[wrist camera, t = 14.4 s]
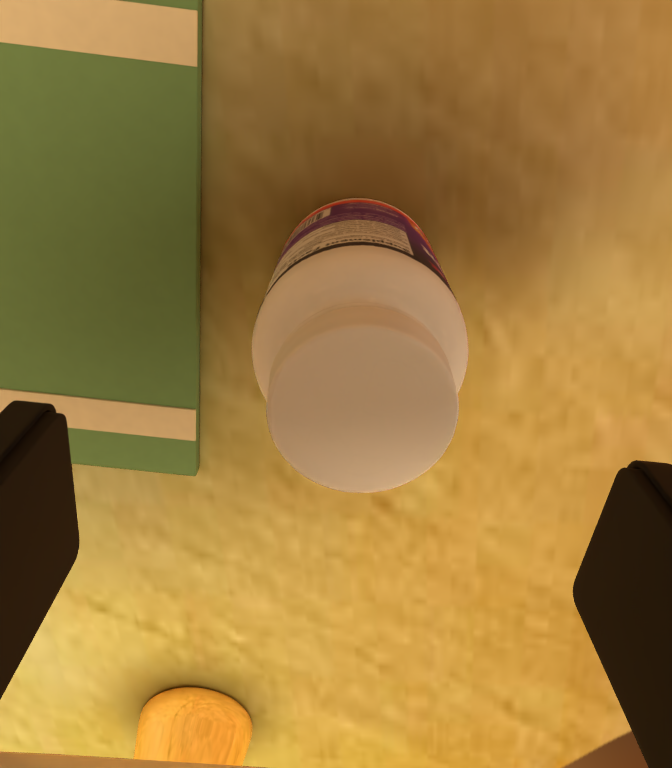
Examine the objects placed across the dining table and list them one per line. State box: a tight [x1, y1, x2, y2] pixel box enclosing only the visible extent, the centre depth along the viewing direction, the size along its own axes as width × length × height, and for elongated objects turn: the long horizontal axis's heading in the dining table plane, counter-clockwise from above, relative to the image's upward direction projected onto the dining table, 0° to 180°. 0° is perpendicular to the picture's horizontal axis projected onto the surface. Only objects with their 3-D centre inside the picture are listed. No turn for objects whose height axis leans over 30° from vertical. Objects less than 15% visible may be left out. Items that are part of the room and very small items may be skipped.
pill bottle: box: [252, 198, 468, 493], centre depth 17 cm, size 5×5×10 cm
